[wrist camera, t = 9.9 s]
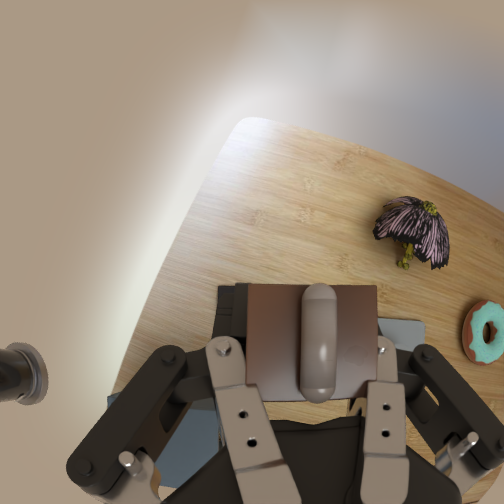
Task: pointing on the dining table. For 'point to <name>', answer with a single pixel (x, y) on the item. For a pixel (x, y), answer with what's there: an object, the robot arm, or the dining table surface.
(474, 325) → the donut
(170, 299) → the dining table surface
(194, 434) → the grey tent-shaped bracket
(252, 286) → the coat peg
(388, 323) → the shower valve
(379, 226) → the decorative flower
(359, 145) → the dining table surface
